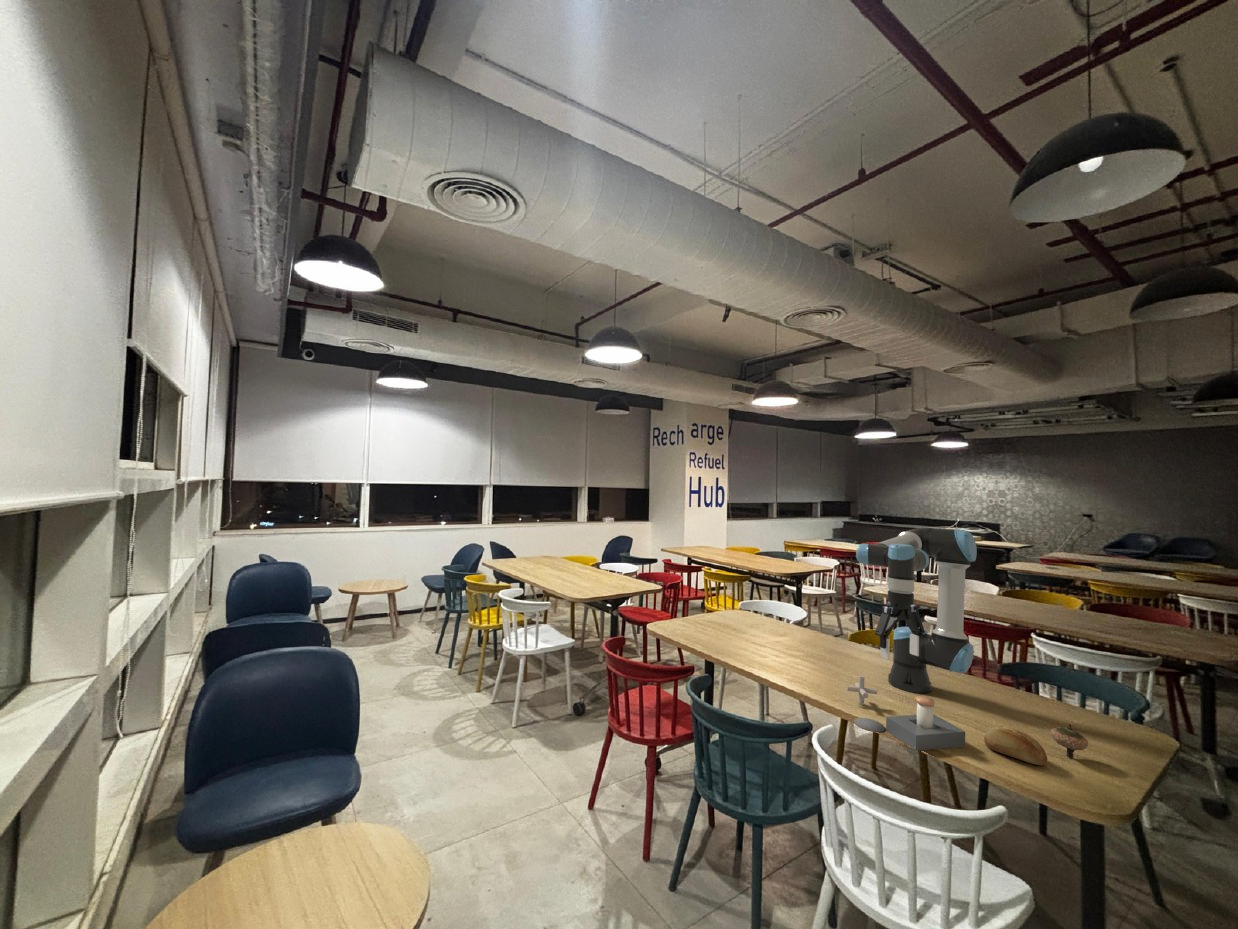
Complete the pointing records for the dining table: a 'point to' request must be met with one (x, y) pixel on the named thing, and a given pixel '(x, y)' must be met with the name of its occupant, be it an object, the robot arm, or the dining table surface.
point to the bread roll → (1015, 744)
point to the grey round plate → (869, 724)
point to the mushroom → (925, 712)
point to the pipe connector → (861, 690)
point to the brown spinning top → (1069, 739)
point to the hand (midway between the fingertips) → (899, 656)
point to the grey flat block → (925, 733)
